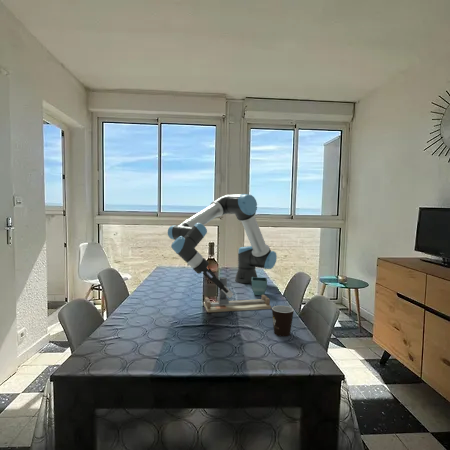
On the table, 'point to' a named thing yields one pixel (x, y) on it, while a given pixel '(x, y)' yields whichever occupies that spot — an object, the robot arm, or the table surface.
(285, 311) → the coffee mug
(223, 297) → the carriage
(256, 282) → the flower pot
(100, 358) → the table surface
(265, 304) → the rail
